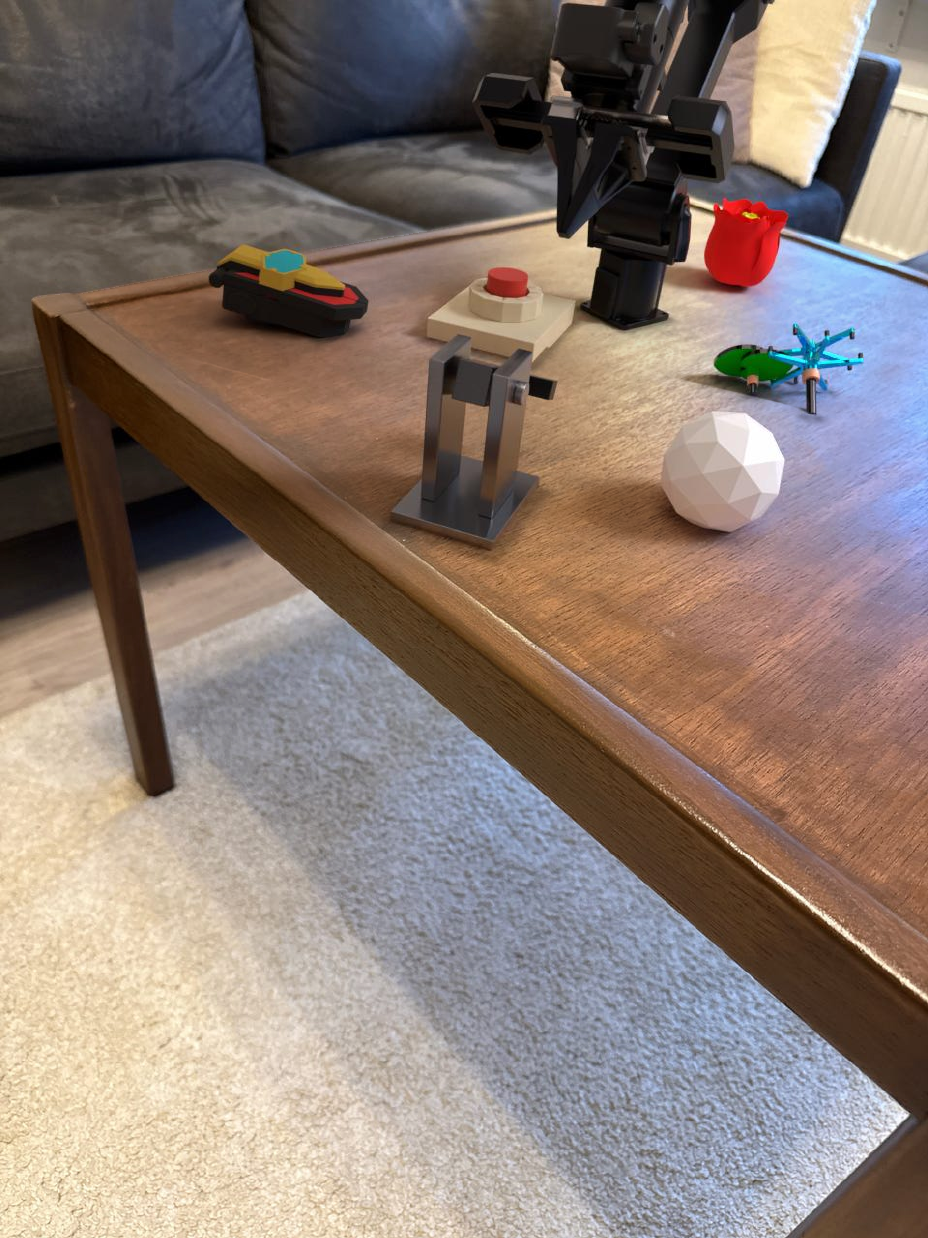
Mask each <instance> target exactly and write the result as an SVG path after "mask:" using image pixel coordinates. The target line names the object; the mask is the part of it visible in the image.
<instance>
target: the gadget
mask: <svg viewBox="0 0 928 1238" xmlns="http://www.w3.org/2000/svg"><path fill="white" fill-rule="evenodd" d="M208 283H209V285H210V286H211V287H213V288H215V289H220V288H221V287H222V288H223V289H222V301H221V308H222V309H223V310H226V311H230V312H232V313H236V314H239V315H242V316H243V317H245V319H246V320H249V321H252V322H254V323H257V324H261V325H262V324H264V325H280V326H283V327H285V328H289V329H292V330H296V331H298V332H301V333H305V334H308V335H312V336H314V337H318V338H327V337H337V336H342V335H343V336H344V335H346V334H347V331H349V329H350V328H351V327H350V326H351V320H352V321H353V320H354V321H355V320H361V319H363V317H364V316H365V315H366V313H367V312H368V308H369V301H370V300H369V299H368V298H367V297H366V296H365V295H364V293H363V292H362V291H361V290H360V289H359V288H358V286H356V285H352V284H350V283H346V282H344V281H340V280H338V279H337V278H335V277H334V276H333V275H331V274H330V273H328V272H327V271H325V270H324V269H322V268H320V267H316V266H313V265H310V264H307V259H306V254H304V253H301V252H297V251H295V250H291V249H288V248H281V249H276V250H274V251H266V250H262V249H260V248H256V247H254V246H251V245H248V244H244V243H243V244H241V245H239V246H238V247H237V248H236V249H234V250H233V251H231V252H230V253H228V254H227V255H226V256H225V257H224V258H222V259H221V260H219V261H218V262H217V263H216V269H215V270H213V271H212V272H211V273H210V274H209V275H208Z"/></svg>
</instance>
